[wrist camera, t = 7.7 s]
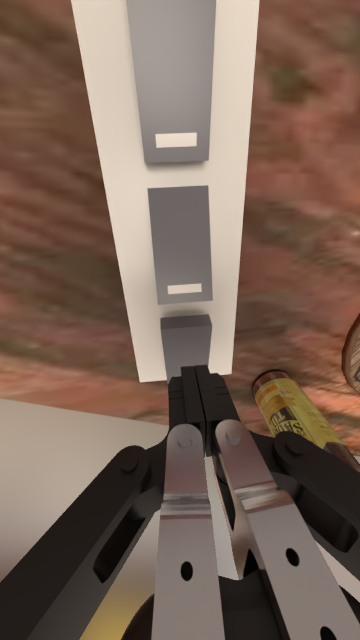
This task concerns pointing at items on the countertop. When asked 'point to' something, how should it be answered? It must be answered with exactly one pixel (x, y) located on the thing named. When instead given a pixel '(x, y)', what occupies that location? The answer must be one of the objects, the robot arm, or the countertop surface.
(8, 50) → the countertop surface
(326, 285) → the countertop surface
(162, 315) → the switch console
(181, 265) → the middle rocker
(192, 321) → the far rocker
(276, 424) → the sauce bottle
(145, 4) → the plate
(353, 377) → the trivet
